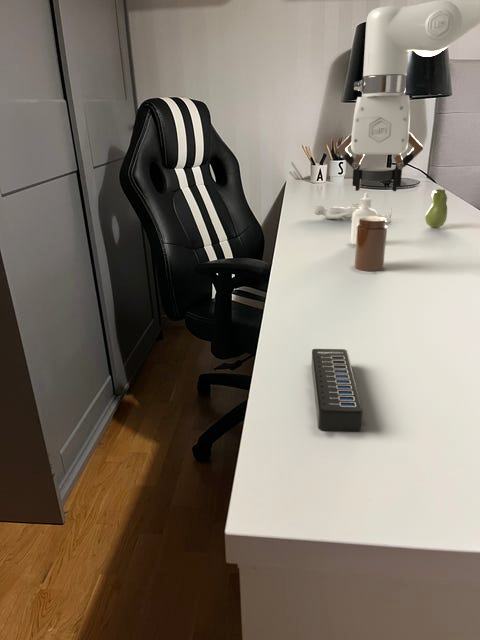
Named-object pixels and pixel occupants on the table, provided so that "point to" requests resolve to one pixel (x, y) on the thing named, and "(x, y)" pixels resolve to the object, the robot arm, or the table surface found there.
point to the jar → (370, 243)
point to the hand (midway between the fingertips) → (376, 189)
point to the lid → (377, 174)
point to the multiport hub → (335, 391)
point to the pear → (437, 209)
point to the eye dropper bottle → (361, 215)
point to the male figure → (344, 212)
